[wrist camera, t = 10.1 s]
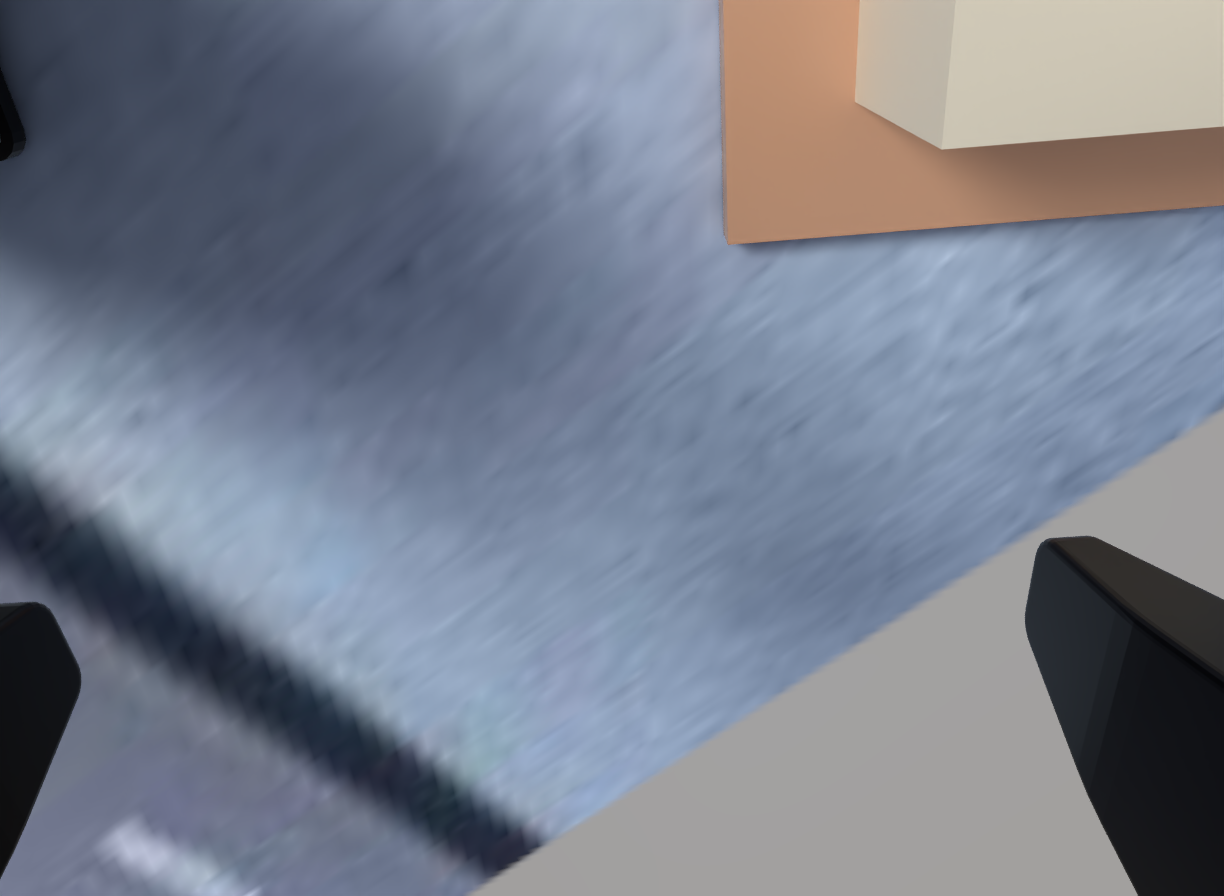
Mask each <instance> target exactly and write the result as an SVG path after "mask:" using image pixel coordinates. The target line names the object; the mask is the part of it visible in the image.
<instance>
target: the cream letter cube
mask: <svg viewBox="0 0 1224 896" xmlns="http://www.w3.org/2000/svg"><path fill="white" fill-rule="evenodd" d="M855 102H856V103H858V104H860V105H861V106H863V107H865V108H867V109H869V110H871V111H872V112H874V113H876V114H878V115H880V116H881V117H883V118H885V119H887V120H889V121H891V122H892V123H894V124H896V125H898V126H900V127H901V128H903V129H905V130H907V131H909V132H911V133H912V134H914V135H916V136H918V137H920V138H921V139H923V140H925V141H927V142H929V143H931V144H932V145H934V146H936V147H938V148H940V149H941V150H942V149H955V148H967V147H979V146H991V145H1003V144H1015V143H1028V142H1040V141H1052V140H1064V139H1076V138H1088V137H1101V136H1113V135H1125V134H1137V133H1149V132H1161V131H1174V130H1186V129H1198V128H1210V127H1222V126H1224V0H860V4H859V25H858V45H857V66H856V87H855Z"/></svg>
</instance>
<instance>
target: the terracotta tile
mask: <svg viewBox="0 0 1224 896" xmlns="http://www.w3.org/2000/svg"><path fill="white" fill-rule="evenodd" d="M859 4H860V0H719V40H720V86H721V133H722V179H723V226H724V236H725V239H726V241H727V244H728V245H731V244H744V243H756V242H769V241H782V240H794V239H807V238H819V237H832V236H844V235H857V234H869V233H882V232H895V231H907V230H920V229H932V228H945V227H957V226H970V225H983V224H995V223H1008V222H1020V221H1033V220H1045V219H1058V218H1070V217H1083V216H1096V215H1108V214H1121V213H1133V212H1146V211H1158V210H1171V209H1184V208H1196V207H1209V206H1221V205H1224V126H1222V127H1210V128H1198V129H1186V130H1174V131H1161V132H1149V133H1137V134H1125V135H1113V136H1101V137H1088V138H1076V139H1064V140H1052V141H1040V142H1028V143H1015V144H1003V145H991V146H979V147H967V148H955V149H942V150H941V149H940V148H938V147H936V146H934V145H932V144H931V143H929V142H927V141H925V140H923V139H921V138H920V137H918V136H916V135H914V134H912V133H911V132H909V131H907V130H905V129H903V128H901V127H900V126H898V125H896V124H894V123H892V122H891V121H889V120H887V119H885V118H883V117H881V116H880V115H878V114H876V113H874V112H872V111H871V110H869V109H867V108H865V107H863V106H861V105H860V104H858V103H856V102H855V87H856V66H857V45H858V25H859Z"/></svg>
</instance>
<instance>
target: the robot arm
mask: <svg viewBox="0 0 1224 896" xmlns="http://www.w3.org/2000/svg"><path fill="white" fill-rule="evenodd" d="M0 139H1V142H0V161H2V160H6V159H9V158H12V157H15V156H18V155H19V154H20V153H21V152H22V151H23V150H24V148H25V143H26V137H25V132H24V128H23V126H22V123H21V120H20V118H19V115H18V113H17V110H16V107H15V105H14V102H13V100H12V97H11V94H10V92H9V89H8V87H7V84H6V81H5V79H4V76H3V74H2V71H1V68H0ZM1025 626H1026V632H1027V637H1028V640H1029V643H1030V645H1031V648H1032V651H1033V653H1034V656H1035V659H1036V661H1037V664H1038V667H1039V669H1040V672H1041V674H1042V677H1043V680H1044V683H1045V685H1046V688H1047V691H1048V693H1049V696H1050V699H1051V701H1052V704H1053V706H1054V709H1055V712H1056V714H1057V717H1058V720H1059V722H1060V725H1061V727H1062V730H1063V733H1064V736H1065V738H1066V741H1067V743H1068V746H1069V749H1070V751H1071V754H1072V757H1073V759H1074V762H1075V765H1076V767H1077V770H1078V772H1079V775H1080V777H1081V780H1082V782H1083V785H1084V787H1085V789H1086V792H1087V794H1088V797H1089V799H1090V801H1091V803H1092V805H1093V807H1094V809H1095V811H1096V813H1097V815H1098V817H1099V820H1100V822H1101V824H1102V825H1103V828H1104V830H1105V832H1106V834H1107V835H1108V837H1109V839H1110V841H1111V843H1112V845H1113V847H1114V849H1115V851H1116V853H1117V855H1118V857H1119V859H1120V861H1121V863H1122V865H1123V867H1124V869H1125V871H1126V873H1127V875H1128V877H1129V879H1130V881H1131V883H1132V884H1133V886H1134V888H1135V890H1136V892H1137V894H1138V896H1224V600H1223V599H1221V598H1219V597H1217V596H1215V595H1213V594H1211V593H1209V592H1207V591H1205V590H1203V589H1201V588H1199V587H1196V586H1195V585H1193V584H1190V583H1188V582H1186V581H1184V580H1182V579H1180V578H1178V577H1176V576H1174V575H1172V574H1170V573H1168V572H1166V571H1163V570H1162V569H1160V568H1158V567H1155V566H1153V565H1151V564H1149V563H1147V562H1145V561H1143V560H1141V559H1139V558H1137V557H1135V556H1133V555H1131V554H1129V553H1127V552H1125V551H1123V550H1121V549H1118V548H1116V547H1114V546H1112V545H1110V544H1108V543H1106V542H1104V541H1102V540H1100V539H1098V538H1095V537H1091V536H1078V537H1077V536H1076V537H1062V538H1049V539H1046V540H1045V541H1044V542H1042V543H1041V544H1040V546H1039V548H1038V550H1037V553H1036V556H1035V561H1034V567H1033V573H1032V578H1031V583H1030V589H1029V594H1028V600H1027V605H1026V612H1025ZM80 688H81V672H80V668H79V665H78V663H77V661H76V659H75V657H74V655H73V653H72V651H71V649H70V647H69V645H68V643H67V640H66V638H65V636H64V634H63V632H62V630H61V628H60V626H59V624H58V622H57V620H56V618H55V616H54V614H53V613H52V611H51V610H50V609H49V608H48V607H46V606H45V605H44V604H42V603H38V602H18V603H3V604H0V879H1V877H2V875H3V873H4V871H5V869H6V867H7V865H8V863H9V861H10V859H11V857H12V854H13V852H14V850H15V848H16V846H17V844H18V842H19V839H20V837H21V835H22V832H23V830H24V828H25V826H26V823H27V821H28V818H29V816H30V814H31V811H32V809H33V806H34V804H35V801H36V799H37V797H38V794H39V792H40V789H41V787H42V784H43V782H44V779H45V777H46V775H47V772H48V770H49V767H50V765H51V762H52V760H53V757H54V755H55V753H56V750H57V748H58V745H59V743H60V740H61V738H62V736H63V733H64V731H65V728H66V726H67V723H68V721H69V718H70V716H71V714H72V711H73V709H74V706H75V704H76V701H77V699H78V696H79V693H80Z"/></svg>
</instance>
